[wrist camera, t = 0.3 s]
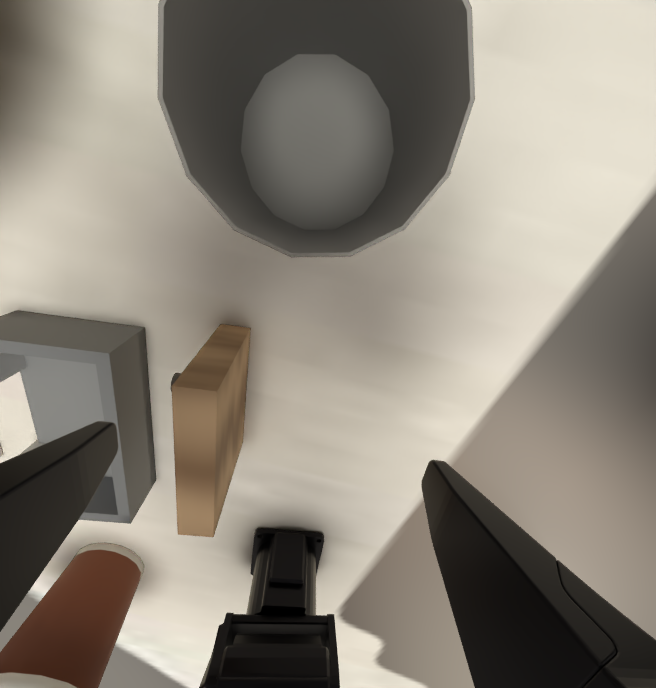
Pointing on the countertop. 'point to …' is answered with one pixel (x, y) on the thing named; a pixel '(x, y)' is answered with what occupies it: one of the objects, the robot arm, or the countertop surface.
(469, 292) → the countertop surface
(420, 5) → the cup
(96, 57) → the countertop surface
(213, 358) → the door
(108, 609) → the coffee cup
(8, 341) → the carcass
